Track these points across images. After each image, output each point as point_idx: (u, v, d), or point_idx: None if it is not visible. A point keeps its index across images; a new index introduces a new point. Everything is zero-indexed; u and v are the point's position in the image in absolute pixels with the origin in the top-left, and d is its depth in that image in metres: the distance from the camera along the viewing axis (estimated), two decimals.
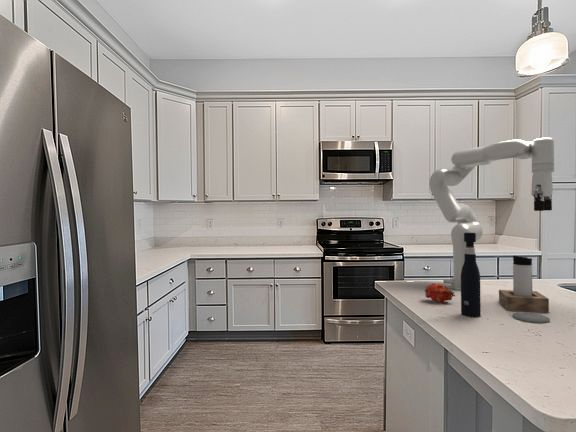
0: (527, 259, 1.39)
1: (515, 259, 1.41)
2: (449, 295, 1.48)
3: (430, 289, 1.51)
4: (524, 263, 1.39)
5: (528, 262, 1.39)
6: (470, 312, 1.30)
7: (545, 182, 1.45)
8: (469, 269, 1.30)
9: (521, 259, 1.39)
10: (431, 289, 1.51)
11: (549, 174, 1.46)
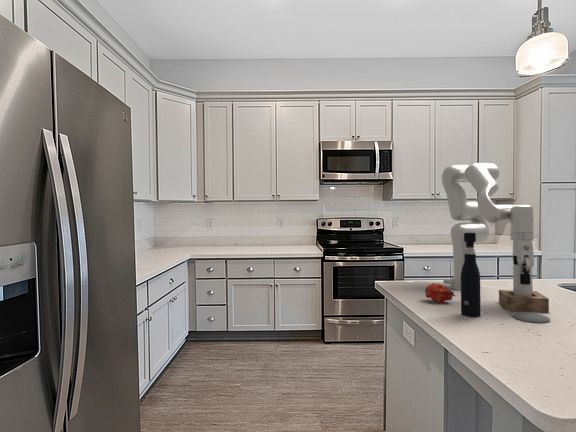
0: None
1: (515, 259, 1.41)
2: (449, 295, 1.48)
3: (430, 289, 1.51)
4: None
5: None
6: (470, 312, 1.30)
7: None
8: (469, 269, 1.30)
9: None
10: (431, 289, 1.51)
11: (514, 242, 1.43)
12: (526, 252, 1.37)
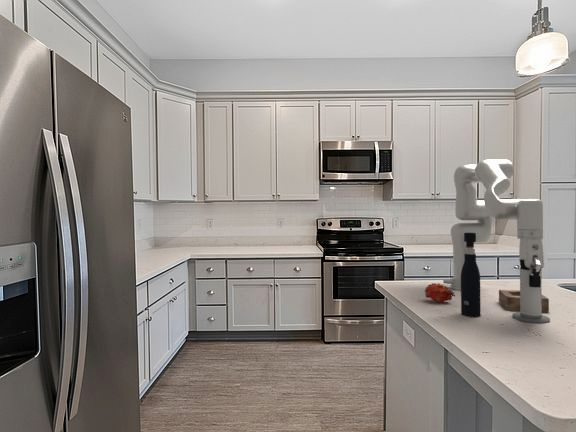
0: None
1: (522, 263, 1.27)
2: (449, 295, 1.48)
3: (430, 289, 1.51)
4: None
5: None
6: (470, 312, 1.30)
7: (519, 250, 1.32)
8: (470, 269, 1.30)
9: None
10: (431, 289, 1.51)
11: (521, 241, 1.28)
12: (535, 252, 1.22)
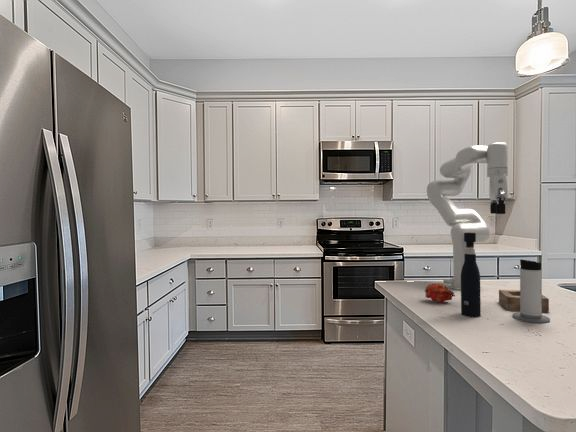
0: (536, 263, 1.24)
1: (522, 263, 1.27)
2: (449, 295, 1.48)
3: (430, 289, 1.51)
4: (532, 268, 1.24)
5: (537, 267, 1.24)
6: (470, 312, 1.30)
7: (489, 187, 1.57)
8: (470, 269, 1.30)
9: (529, 263, 1.25)
10: (431, 289, 1.51)
11: (490, 179, 1.54)
12: (500, 185, 1.48)
